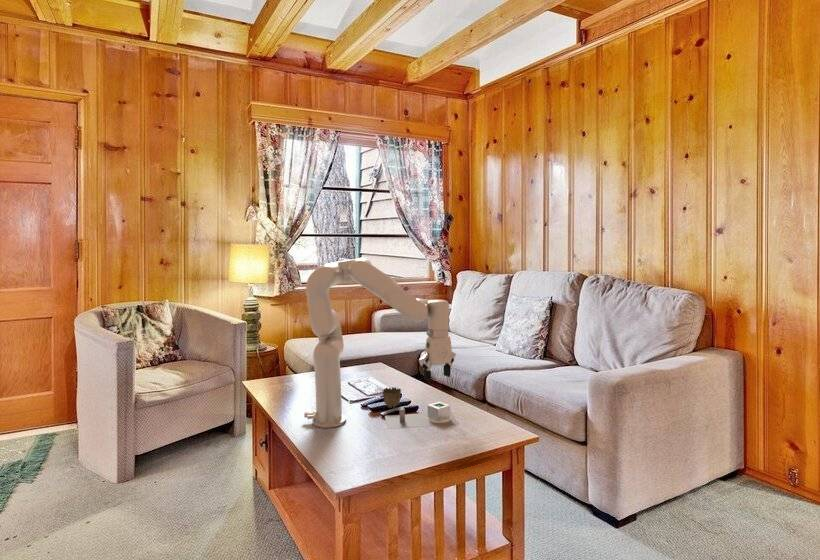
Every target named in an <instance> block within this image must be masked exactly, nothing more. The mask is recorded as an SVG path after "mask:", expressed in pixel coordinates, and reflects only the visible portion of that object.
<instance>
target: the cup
mask: <svg viewBox="0 0 820 560" xmlns="http://www.w3.org/2000/svg"><path fill="white" fill-rule="evenodd" d="M401 392H402V389H401V388H399V387H389V388H388V387H385V388H383V390H382V395H383V402H384V404H385V405H386V406H387V408H390V409H391V408H392V407H393V408H396V407H397V406H398V405H399V404H400V402H401ZM395 406H396V407H395ZM393 408H392V409H393Z"/></svg>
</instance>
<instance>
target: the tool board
mask: <svg viewBox="0 0 820 560" xmlns="http://www.w3.org/2000/svg"><path fill="white" fill-rule="evenodd" d="M437 407H441V406H440V405H439V406H437ZM384 418H385V423H386V426H387V429H388V430H390V429H391V430H392V429H393V430H394V429H407V428H422V427H434V426H435V427H437V426H448V425H450V426H451V425H460V423H459V422H458V419H457V418H456V417H455V415H454V414H453V412H452V411H450V419H447V420H444V421H441V422H436V421H434V420H432V419H430V418H428V412H427V413H425V412H424V413H411V414H410V413H407V414H406V409H405V408H404V407H403V408H399V414H391V415H384Z"/></svg>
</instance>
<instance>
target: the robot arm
mask: <svg viewBox="0 0 820 560" xmlns="http://www.w3.org/2000/svg"><path fill="white" fill-rule="evenodd" d="M351 282H355V283H357V284H359V285H360V286H361V287H364V288H365V289H366V290H367V291H369V292H371V293H372V294H373V295H375V296H377V297H378V298H380V300H382V301H383V302H384V303H386V304H387V305H389V307H391V308H393V309H394V310H395V311H397V313H398V314H399V313H400V314H401V315H402V316H404V317H405V318H407V319H409V320H410V321H412V322H415V323H421V322H423V321H425V320H426V319H427V318H428V322H427V323H428V325H427V326H428V327H427V332H426V335H427V337H426V341H425V346H424V354H423V355H422V356H421V357H420V358H419V359H418V362H419V365H420V367H421V368H422V370H423V380H424V381H427V382H431V381H432V371H431V368H432V367H433V366H435V367H436V366H441V365H443V376H445V377H448V378H451V367H453V362H454V361H455V358H456V353H455V352H453V349H452V340H451V336H449V330H450V329H449V325H450V322H449V321H450V316H449V315H450V303H449V301H448V300H445V299H426V298H421V297H420V298H415V297H414V296H413V295H411V294H410V293H408V292H406V290H404V289H403V288H402V287H401V286H400V285H399V284H398V282H397V281H396V280H395V279H394V278H393V277H391V276H390V275H388V274H387V273H385V272H383V271H381V270H380V269H379V268H377V267H376V266H375V265H373V263H372V262H371V261H370V260H369V259H368V258H364V257H359V258H358V257H357V258H352V259H346V260H341V261H335V262H334V261H333V262H329V263H325V264H323V265H321V266H319V267H318V268H316V269H314V271H312V273H310V275H309V276H308V278H307V281H306V285H305V295H306V301H307V308H308V315H309V320H310V323H309V324H310V329H311V330H312V332H313V334H314V335H315V336H317V338H318V339H317V340H318V343H317V344H316V345H315V347H314V350H313V354H312V355H313V356H312V359H313V360H312V361H313V366H314V380H315V381H314V383H315V384H314V385H315V410H313V411H311V412H307V411H306V412H304V414H303V415H304V418H306V419H307V420H311V419H312V425H313V426H314V427H317V428H323V429H329V428H337V427H340V426H342V425H344V424H346V422H347V417H346V416H345V415H344V414H343V412H342V411H343V409H342V408H343V407H342V405H343V404H342V402H343V401H342V378H341V377H342V373H341V364H340V363H341V362H340V359H341V358H340V357H341V355H342V354H343V351H344V349H345V347H344V344H345V343H344V339H343V333H342V332H343V331H342V326H341V325H342V324H341V320H340V317H339V314H338V313H337V312H336V310H334V309H332V300H331V296H330V289H331V288H332V287H334V286H336V285H339V284H344V283H345V284H346V283H351Z"/></svg>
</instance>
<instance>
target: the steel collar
mask: <svg viewBox="0 0 820 560" xmlns="http://www.w3.org/2000/svg"><path fill="white" fill-rule="evenodd" d="M439 405H440V406H441V407H437V406H439ZM450 412H451V405H450V404H447V403H445V402H442V401H437V402H432V403H429V404H427V413H428V418H430V419H432V420H434V421H436V422H441V421H444V420H447V419H450Z"/></svg>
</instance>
